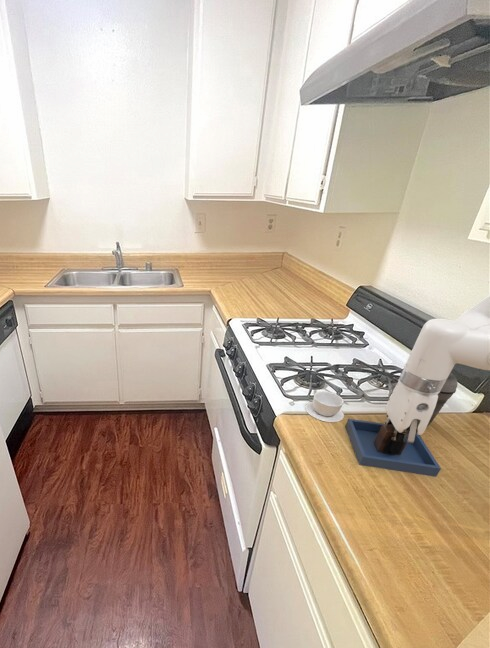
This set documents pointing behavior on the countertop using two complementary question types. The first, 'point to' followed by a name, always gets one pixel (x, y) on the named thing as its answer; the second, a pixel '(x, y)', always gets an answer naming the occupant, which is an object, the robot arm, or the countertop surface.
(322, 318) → the countertop surface
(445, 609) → the countertop surface
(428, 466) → the tray
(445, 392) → the beverage cup
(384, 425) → the block
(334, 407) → the teacup
